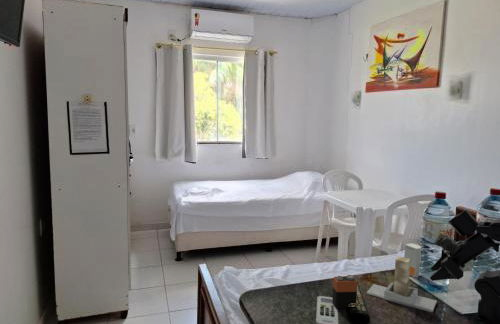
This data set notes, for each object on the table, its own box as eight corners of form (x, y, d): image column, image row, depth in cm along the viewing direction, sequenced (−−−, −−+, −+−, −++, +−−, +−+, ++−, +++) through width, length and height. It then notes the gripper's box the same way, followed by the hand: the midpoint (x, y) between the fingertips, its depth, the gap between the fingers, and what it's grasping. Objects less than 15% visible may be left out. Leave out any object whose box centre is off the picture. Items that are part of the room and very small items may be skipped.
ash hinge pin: (408, 297, 123) (410, 258, 122) (405, 302, 120) (408, 262, 119) (396, 294, 125) (398, 256, 124) (393, 298, 122) (395, 259, 121)
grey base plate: (436, 302, 120) (437, 293, 120) (432, 313, 113) (432, 304, 113) (373, 285, 132) (374, 277, 132) (366, 294, 125) (366, 286, 125)
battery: (356, 308, 115) (357, 278, 114) (336, 309, 114) (337, 279, 114) (351, 301, 119) (352, 273, 118) (331, 302, 119) (333, 273, 118)
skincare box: (402, 272, 145) (404, 244, 144) (410, 270, 147) (411, 242, 146) (415, 278, 140) (417, 248, 139) (422, 276, 142) (424, 247, 141)
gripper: (452, 221, 122) (415, 247, 129) (452, 234, 106) (411, 263, 112) (477, 247, 119) (438, 272, 126) (482, 265, 103) (437, 293, 109)
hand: (431, 274), depth 118 cm, fingers open, 9 cm apart
